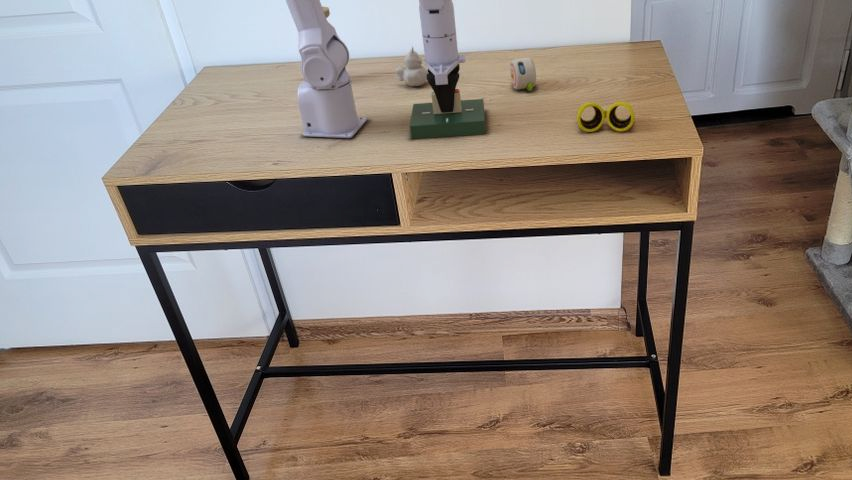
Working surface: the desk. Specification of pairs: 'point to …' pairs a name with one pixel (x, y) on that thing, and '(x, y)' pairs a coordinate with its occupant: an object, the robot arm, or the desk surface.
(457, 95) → the red topped block
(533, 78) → the roller toy
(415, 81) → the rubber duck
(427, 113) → the console
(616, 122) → the opera glasses
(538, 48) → the desk surface
